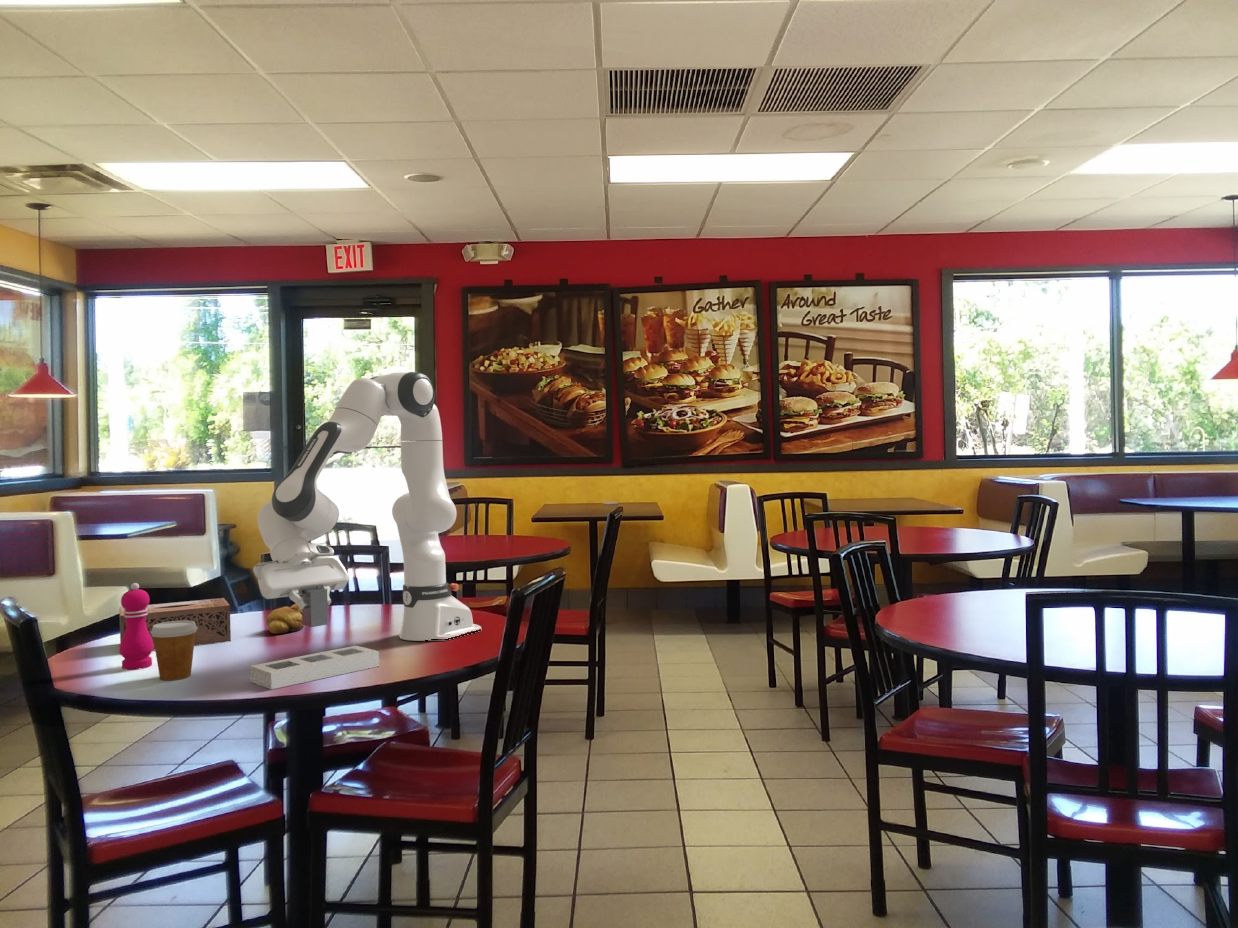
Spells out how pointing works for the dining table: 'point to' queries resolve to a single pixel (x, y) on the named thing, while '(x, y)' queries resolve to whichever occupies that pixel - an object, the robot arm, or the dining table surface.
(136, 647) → the pepper mill
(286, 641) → the dining table surface
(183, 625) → the disposable coffee cup
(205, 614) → the tissue box cover
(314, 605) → the peg
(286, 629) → the bread roll
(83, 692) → the dining table surface
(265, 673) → the rail
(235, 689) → the dining table surface
